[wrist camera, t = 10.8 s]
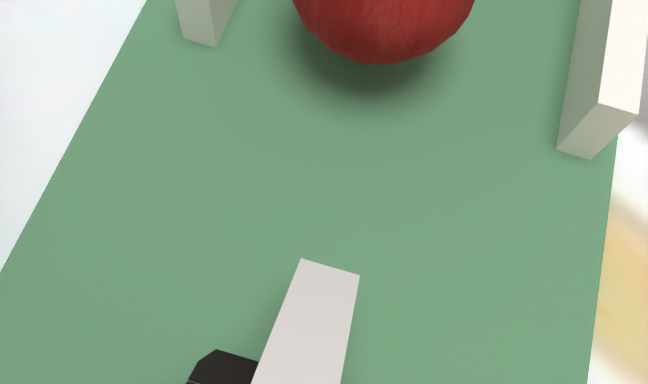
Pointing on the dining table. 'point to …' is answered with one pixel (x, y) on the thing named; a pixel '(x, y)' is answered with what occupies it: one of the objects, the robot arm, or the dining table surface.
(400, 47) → the onion
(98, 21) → the dining table surface
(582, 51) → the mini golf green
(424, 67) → the felt mat
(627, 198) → the dining table surface
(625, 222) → the dining table surface
